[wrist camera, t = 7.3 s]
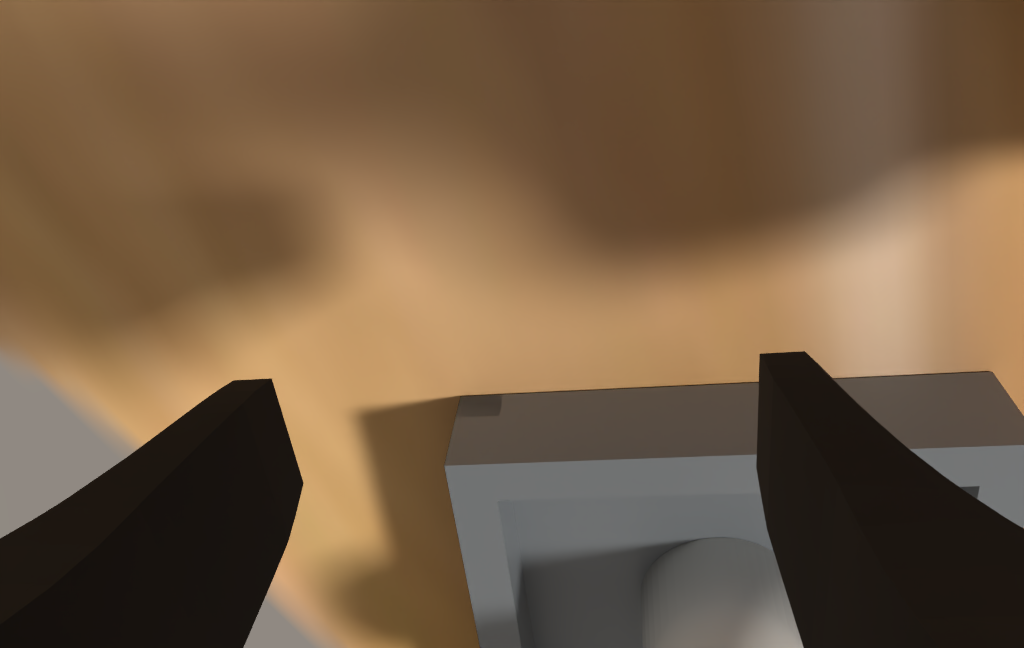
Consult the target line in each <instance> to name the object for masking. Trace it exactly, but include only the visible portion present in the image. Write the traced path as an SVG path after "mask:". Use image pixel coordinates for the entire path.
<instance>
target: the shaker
mask: <svg viewBox="0 0 1024 648" xmlns="http://www.w3.org/2000/svg"><path fill="white" fill-rule="evenodd" d="M641 615H642V642H643V648H804V647H803V644H802V641H801V638H800V635H799V631H798V628H797V625H796V622H795V619H794V615H793V612H792V609H791V606H790V603H789V599H788V596H787V593H786V590H785V587H784V583H783V580H782V577H781V574H780V571H779V567H778V564H777V561H776V557H775V554H774V552H773V551H771V550H769V549H767V548H765V547H763V546H761V545H758V544H756V543H753V542H749V541H746V540H741V539H735V538H707V539H700V540H695V541H691V542H688V543H685V544H682V545H680V546H677V547H675V548H673V549H671V550H669V551H668V552H666V553H665V554H663V555H662V556H661V557H659V558H658V559H657V560H656V561H655V562H654V563H653V564H652V565H651V567H650V568H649V569H648V571H647V572H646V574H645V577H644V579H643V582H642V585H641Z"/></svg>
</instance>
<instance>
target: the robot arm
mask: <svg viewBox="0 0 1024 648" xmlns="http://www.w3.org/2000/svg"><path fill="white" fill-rule="evenodd" d="M756 469H757V475H758V481H759V487H760V493H761V499H762V505H763V510H764V516H765V521H766V527H767V531H768V534H769V538H770V541H771V544H772V548H773V551H774V554H775V557H776V561H777V564H778V567H779V571H780V574H781V577H782V580H783V583H784V587H785V590H786V593H787V596H788V599H789V603H790V606H791V609H792V612H793V615H794V619H795V622H796V625H797V628H798V631H799V635H800V638H801V641H802V644H803V647H804V648H1024V529H1023V528H1022V527H1020V526H1018V525H1017V524H1015V523H1013V522H1012V521H1010V520H1009V519H1007V518H1005V517H1004V516H1002V515H1001V514H999V513H998V512H996V511H995V510H993V509H992V508H990V507H989V506H987V505H985V504H984V503H982V502H981V501H979V500H978V499H976V498H975V497H973V496H972V495H970V494H969V493H967V492H966V491H964V490H963V489H961V488H960V487H959V486H957V485H956V484H954V483H953V482H952V481H950V480H949V479H947V478H946V477H945V476H943V475H942V474H941V473H939V472H938V471H937V470H935V469H934V468H933V467H932V466H930V465H929V464H928V463H926V462H925V461H924V460H923V459H921V458H920V457H919V456H917V455H916V454H915V453H914V452H912V451H911V450H910V449H909V448H907V447H906V446H905V445H904V444H903V443H901V442H900V441H899V440H898V439H897V438H896V437H895V436H893V435H892V434H891V433H890V432H889V431H888V430H887V429H886V428H884V427H883V426H882V425H881V424H880V423H879V422H878V421H877V420H875V419H874V418H873V417H872V416H871V415H870V414H869V413H868V412H867V411H866V410H865V409H863V408H862V407H861V406H860V405H859V404H858V403H857V402H856V401H855V400H854V399H853V398H852V397H851V396H850V395H849V394H848V393H847V392H846V391H845V390H844V389H843V388H842V387H841V386H840V385H839V384H838V383H837V382H836V381H835V380H834V379H833V378H832V377H831V376H830V375H829V374H828V373H827V372H826V371H825V370H824V369H823V368H822V367H821V366H820V365H819V364H818V363H816V362H815V361H814V360H813V359H812V358H811V357H810V356H809V355H808V354H807V353H806V352H786V353H766V354H760V365H759V396H758V428H757V460H756ZM302 487H303V480H302V477H301V474H300V470H299V467H298V464H297V461H296V457H295V454H294V451H293V447H292V444H291V441H290V438H289V434H288V431H287V428H286V425H285V421H284V418H283V415H282V411H281V408H280V405H279V402H278V398H277V395H276V392H275V388H274V385H273V382H272V379H255V380H235V381H232V382H231V383H229V384H227V385H226V386H224V387H222V388H221V389H219V390H218V391H216V392H215V393H213V394H212V395H211V396H209V397H208V398H206V399H205V400H204V401H202V402H201V403H199V404H198V405H197V406H195V407H194V408H193V409H191V410H190V411H189V412H187V413H186V414H185V415H183V416H182V417H181V418H179V419H178V420H177V421H175V422H174V423H173V424H171V425H170V426H169V427H167V428H166V429H165V430H163V431H162V432H160V433H159V434H158V435H156V436H155V437H154V438H152V439H151V440H150V441H148V442H147V443H146V444H144V445H143V446H142V447H140V448H139V449H138V450H136V451H135V452H134V453H132V454H131V455H129V456H128V457H127V458H125V459H124V460H122V461H121V462H119V463H118V464H117V465H115V466H114V467H112V468H111V469H110V470H108V471H106V472H105V473H103V474H102V475H101V476H99V477H98V478H96V479H95V480H93V481H92V482H90V483H89V484H88V485H86V486H85V487H83V488H82V489H80V490H79V491H77V492H76V493H74V494H73V495H72V496H70V497H69V498H67V499H65V500H64V501H62V502H61V503H60V504H58V505H56V506H55V507H53V508H51V509H50V510H48V511H46V512H45V513H43V514H42V515H40V516H38V517H37V518H35V519H33V520H32V521H30V522H28V523H26V524H25V525H23V526H21V527H20V528H18V529H16V530H14V531H13V532H11V533H9V534H8V535H6V536H4V537H2V538H1V539H0V648H243V647H244V645H245V642H246V640H247V638H248V635H249V633H250V631H251V629H252V626H253V624H254V621H255V619H256V617H257V615H258V612H259V610H260V608H261V605H262V603H263V601H264V598H265V596H266V594H267V591H268V589H269V587H270V584H271V582H272V579H273V577H274V575H275V572H276V570H277V568H278V565H279V563H280V560H281V558H282V556H283V553H284V551H285V548H286V546H287V543H288V540H289V537H290V533H291V530H292V526H293V523H294V519H295V515H296V511H297V507H298V503H299V499H300V495H301V491H302Z"/></svg>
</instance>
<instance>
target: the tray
mask: <svg viewBox="0 0 1024 648" xmlns="http://www.w3.org/2000/svg"><path fill="white" fill-rule="evenodd" d="M834 380H835V381H836V382H837V383H838V384H839V385H840V386H841V387H842V388H843V389H844V390H845V391H846V392H847V393H848V394H849V395H850V396H851V397H852V398H853V399H854V400H855V401H856V402H857V403H858V404H859V405H860V406H861V407H862V408H863V409H865V410H866V411H867V412H868V413H869V414H870V415H871V416H872V417H873V418H874V419H875V420H877V421H878V422H879V423H880V424H881V425H882V426H883V427H884V428H886V429H887V430H888V431H889V432H890V433H891V434H892V435H893V436H895V437H896V438H897V439H898V440H899V441H900V442H901V443H903V444H904V445H905V446H906V447H907V448H909V449H910V450H911V451H912V452H914V453H915V454H916V455H917V456H919V457H920V458H921V459H923V460H924V461H925V462H926V463H928V464H929V465H930V466H932V467H933V468H934V469H935V470H937V471H938V472H939V473H941V474H942V475H943V476H945V477H946V478H947V479H949V480H950V481H952V482H953V483H954V484H956V485H957V486H959V487H960V488H961V489H963V490H964V491H966V492H967V493H969V494H970V495H972V496H973V497H975V498H976V499H978V500H979V501H981V502H982V503H984V504H985V505H987V506H989V507H990V508H992V509H993V510H995V511H996V512H998V513H999V514H1001V515H1002V516H1004V517H1005V518H1007V519H1009V520H1010V521H1012V522H1013V523H1015V524H1017V525H1018V526H1020V527H1022V528H1024V416H1023V415H1022V413H1021V412H1020V410H1019V409H1018V407H1017V406H1016V405H1015V403H1014V402H1013V400H1012V399H1011V398H1010V396H1009V395H1008V393H1007V392H1006V390H1005V389H1004V388H1003V386H1002V385H1001V383H1000V382H999V381H998V379H997V378H996V376H995V375H994V373H993V372H975V373H953V374H932V375H910V376H889V377H868V378H846V379H834ZM758 396H759V383H739V384H717V385H696V386H674V387H653V388H632V389H610V390H589V391H567V392H546V393H524V394H503V395H481V396H461V397H460V401H459V405H458V409H457V414H456V418H455V422H454V426H453V431H452V435H451V439H450V443H449V448H448V452H447V456H446V460H445V465H444V467H445V472H446V477H447V483H448V488H449V493H450V498H451V503H452V508H453V513H454V518H455V523H456V528H457V533H458V538H459V543H460V548H461V553H462V558H463V563H464V569H465V574H466V579H467V584H468V589H469V594H470V599H471V604H472V609H473V614H474V619H475V624H476V629H477V634H478V639H479V644H480V648H643V642H642V615H641V585H642V582H643V579H644V577H645V574H646V572H647V571H648V569H649V568H650V567H651V565H652V564H653V563H654V562H655V561H656V560H657V559H658V558H659V557H661V556H662V555H663V554H665V553H666V552H668V551H669V550H671V549H673V548H675V547H677V546H680V545H682V544H685V543H688V542H691V541H695V540H700V539H707V538H735V539H741V540H746V541H749V542H753V543H756V544H758V545H761V546H763V547H765V548H767V549H769V550H771V551H773V548H772V544H771V541H770V538H769V534H768V531H767V527H766V521H765V516H764V510H763V505H762V499H761V493H760V487H759V481H758V475H757V469H756V460H757V428H758ZM773 552H774V551H773Z"/></svg>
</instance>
